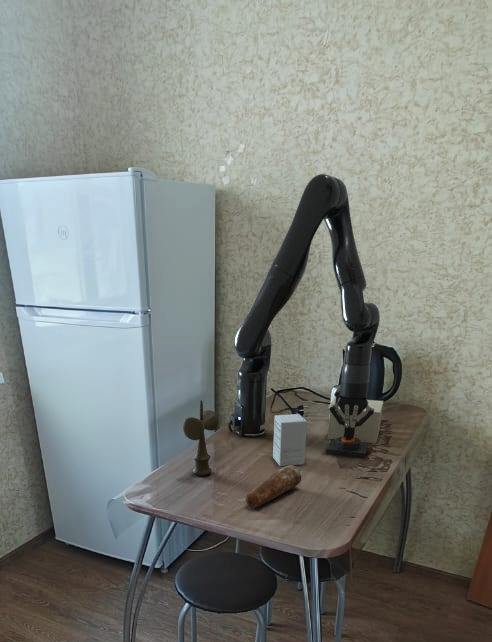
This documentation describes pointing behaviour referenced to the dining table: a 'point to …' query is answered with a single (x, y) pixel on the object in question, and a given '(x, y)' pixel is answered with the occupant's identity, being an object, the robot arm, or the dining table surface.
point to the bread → (274, 486)
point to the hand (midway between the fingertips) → (348, 439)
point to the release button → (348, 440)
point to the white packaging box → (289, 439)
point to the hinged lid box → (357, 428)
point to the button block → (347, 448)
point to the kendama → (201, 437)
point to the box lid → (372, 403)
